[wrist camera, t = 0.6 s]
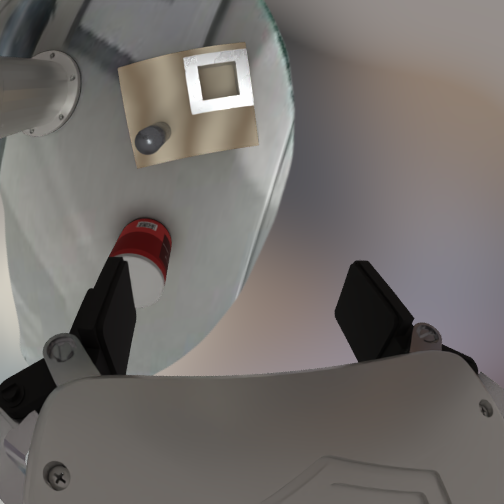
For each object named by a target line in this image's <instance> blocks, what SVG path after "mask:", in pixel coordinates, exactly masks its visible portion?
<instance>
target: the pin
mask: <svg viewBox="0 0 504 504" xmlns="http://www.w3.org/2000/svg"><path fill="white" fill-rule="evenodd" d="M170 136H171V128H170V126H169V125H168V124H167V123H165V122H157V123H155V124H152V125H150V126H148V127H146V128H144V129H142V130H141V131H139V132H138V134H137V135H136V137H135V146H136V149H137V150H138V151H139V152H140V153H142V154H145V155H151V154H154V153H155V152H157V151H158V150H159V149H160V148H161V146H162V145H163V144H164V143H165V142H166V141H167V140H168V139H169V138H170Z"/></svg>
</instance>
